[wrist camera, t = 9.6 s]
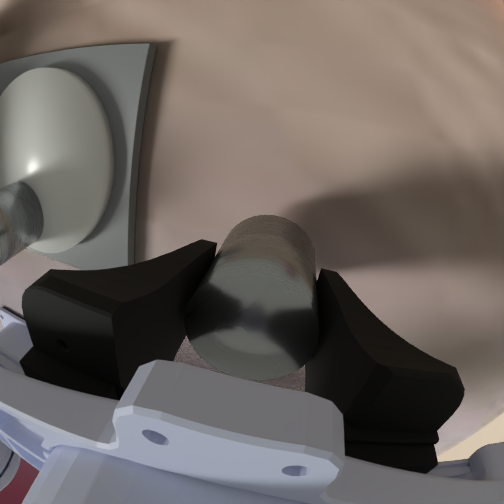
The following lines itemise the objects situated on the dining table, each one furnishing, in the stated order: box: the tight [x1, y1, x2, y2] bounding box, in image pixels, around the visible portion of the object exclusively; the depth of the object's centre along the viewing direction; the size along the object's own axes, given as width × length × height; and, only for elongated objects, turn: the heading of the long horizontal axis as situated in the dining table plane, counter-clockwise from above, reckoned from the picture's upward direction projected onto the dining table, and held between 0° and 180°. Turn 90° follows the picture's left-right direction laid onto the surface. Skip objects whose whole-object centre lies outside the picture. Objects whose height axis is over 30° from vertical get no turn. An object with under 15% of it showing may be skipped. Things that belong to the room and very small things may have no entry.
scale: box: [0, 43, 157, 270], centre depth 12 cm, size 13×16×6 cm
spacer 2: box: [184, 215, 319, 380], centre depth 11 cm, size 4×4×5 cm
